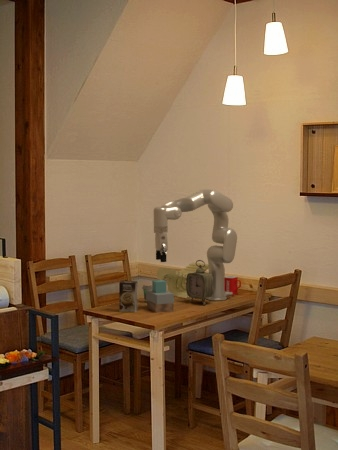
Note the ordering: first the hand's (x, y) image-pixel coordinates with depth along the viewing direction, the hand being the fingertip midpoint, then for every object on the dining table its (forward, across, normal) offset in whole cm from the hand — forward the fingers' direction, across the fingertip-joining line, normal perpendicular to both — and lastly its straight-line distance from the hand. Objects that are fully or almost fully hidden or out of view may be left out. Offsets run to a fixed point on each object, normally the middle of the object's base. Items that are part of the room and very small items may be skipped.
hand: (161, 260), depth 363 cm
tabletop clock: (+27, +7, -25) cm, 37 cm away
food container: (+27, +17, 0) cm, 32 cm away
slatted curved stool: (+27, +35, -23) cm, 50 cm away
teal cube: (+17, -1, +2) cm, 17 cm away
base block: (+27, -2, +2) cm, 27 cm away
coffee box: (+26, -2, +19) cm, 33 cm away
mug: (+28, +28, -52) cm, 65 cm away
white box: (+22, -2, +2) cm, 22 cm away
